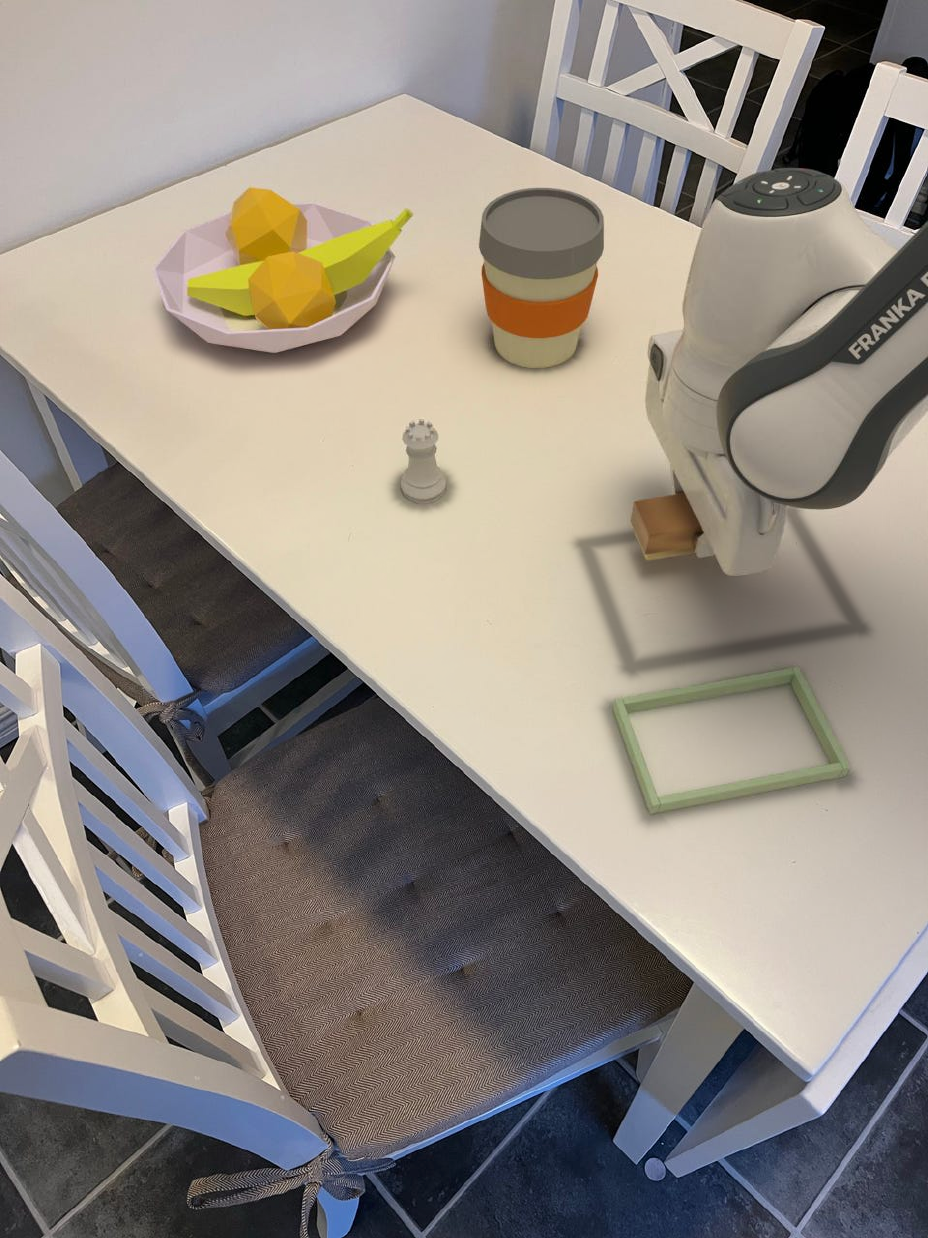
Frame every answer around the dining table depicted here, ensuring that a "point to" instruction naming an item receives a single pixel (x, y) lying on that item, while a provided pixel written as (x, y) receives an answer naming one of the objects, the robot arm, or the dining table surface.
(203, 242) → the fruit bowl
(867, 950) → the dining table surface
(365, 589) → the dining table surface
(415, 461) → the rook chess piece
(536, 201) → the reusable coffee cup
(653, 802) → the rectangular frame
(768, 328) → the robot arm
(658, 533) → the tan wooden brick
